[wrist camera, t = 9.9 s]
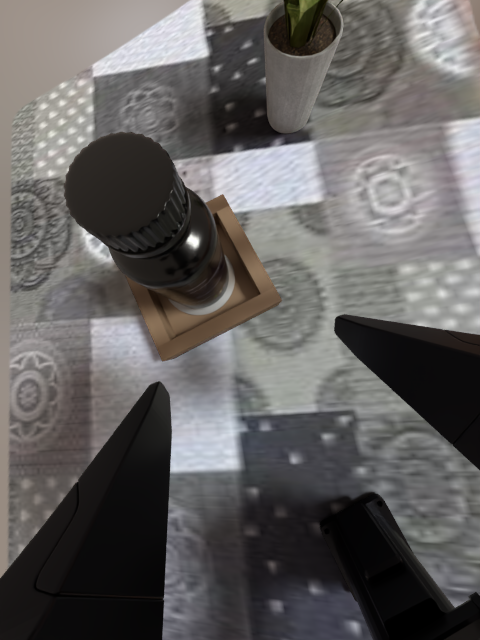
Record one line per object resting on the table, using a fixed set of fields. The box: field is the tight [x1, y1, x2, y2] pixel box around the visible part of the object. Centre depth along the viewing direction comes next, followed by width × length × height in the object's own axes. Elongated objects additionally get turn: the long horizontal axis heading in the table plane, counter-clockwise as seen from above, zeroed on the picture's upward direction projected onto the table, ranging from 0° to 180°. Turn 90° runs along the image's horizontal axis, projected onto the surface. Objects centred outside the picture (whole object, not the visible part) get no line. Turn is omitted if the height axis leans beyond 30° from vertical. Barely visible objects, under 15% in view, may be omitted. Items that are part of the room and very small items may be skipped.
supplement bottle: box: [64, 132, 229, 309], centre depth 13 cm, size 7×7×12 cm
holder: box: [125, 194, 282, 361], centre depth 18 cm, size 13×13×2 cm
